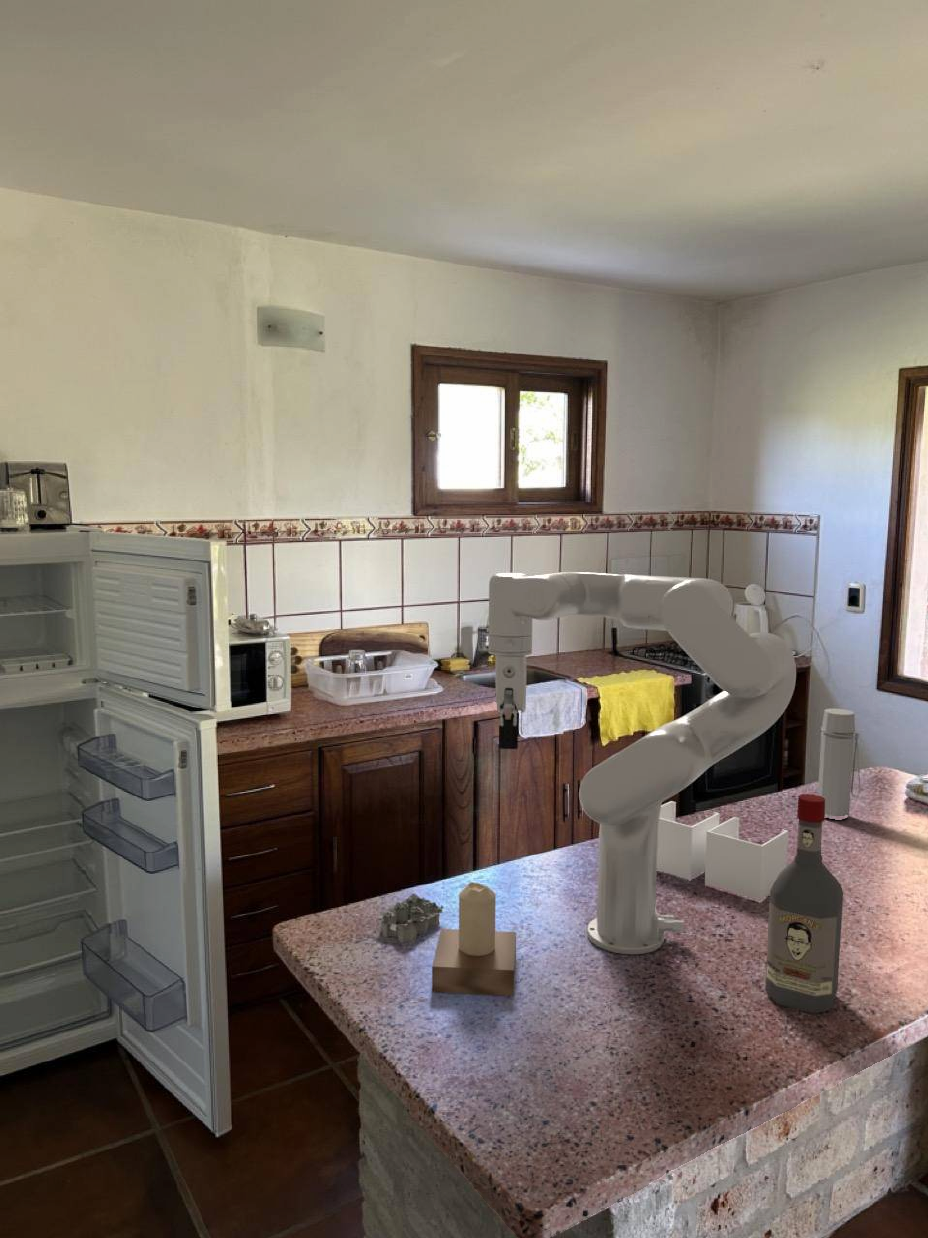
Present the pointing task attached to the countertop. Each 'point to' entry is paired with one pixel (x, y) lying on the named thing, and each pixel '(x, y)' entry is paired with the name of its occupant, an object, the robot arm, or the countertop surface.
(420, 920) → the egg carton
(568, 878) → the countertop surface
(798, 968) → the liquor
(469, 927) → the candle
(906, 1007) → the countertop surface
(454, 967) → the plinth
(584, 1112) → the countertop surface
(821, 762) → the water bottle
